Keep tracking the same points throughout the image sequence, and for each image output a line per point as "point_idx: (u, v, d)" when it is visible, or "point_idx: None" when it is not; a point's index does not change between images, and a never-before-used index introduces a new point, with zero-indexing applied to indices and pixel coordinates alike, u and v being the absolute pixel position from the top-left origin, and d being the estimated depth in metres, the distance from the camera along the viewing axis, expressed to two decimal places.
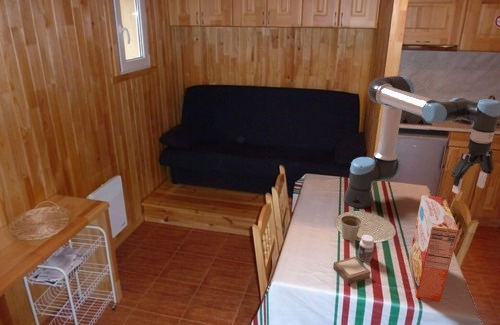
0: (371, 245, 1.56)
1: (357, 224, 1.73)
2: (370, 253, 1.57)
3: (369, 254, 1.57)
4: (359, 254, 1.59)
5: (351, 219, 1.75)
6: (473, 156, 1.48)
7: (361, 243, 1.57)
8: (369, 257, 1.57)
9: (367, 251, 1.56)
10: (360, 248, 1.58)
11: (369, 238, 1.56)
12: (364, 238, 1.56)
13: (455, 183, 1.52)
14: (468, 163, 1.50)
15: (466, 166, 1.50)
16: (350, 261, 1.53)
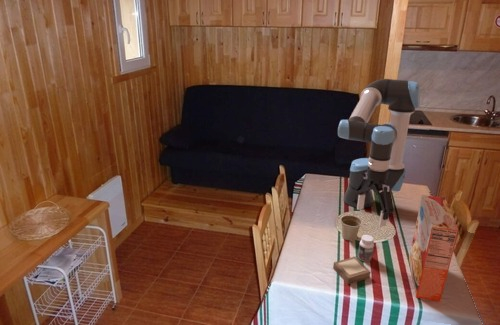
0: (371, 245, 1.56)
1: (357, 224, 1.73)
2: (370, 253, 1.57)
3: (369, 254, 1.57)
4: (359, 254, 1.59)
5: (351, 219, 1.75)
6: (368, 178, 1.49)
7: (361, 243, 1.57)
8: (369, 257, 1.57)
9: (367, 251, 1.56)
10: (360, 248, 1.58)
11: (369, 238, 1.56)
12: (364, 238, 1.56)
13: None
14: None
15: None
16: (350, 261, 1.53)
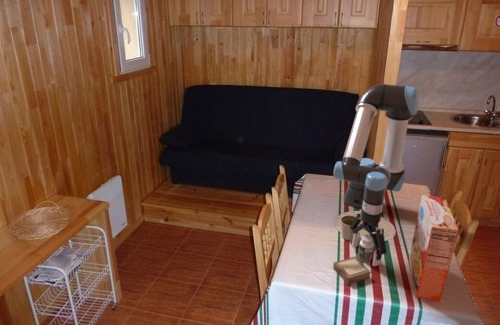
0: (371, 245, 1.56)
1: None
2: (370, 253, 1.57)
3: (369, 254, 1.57)
4: (359, 254, 1.59)
5: (351, 219, 1.75)
6: (362, 219, 1.56)
7: (361, 243, 1.57)
8: (369, 257, 1.57)
9: (367, 251, 1.56)
10: (360, 248, 1.58)
11: (369, 238, 1.56)
12: (364, 238, 1.56)
13: None
14: None
15: None
16: (350, 261, 1.53)
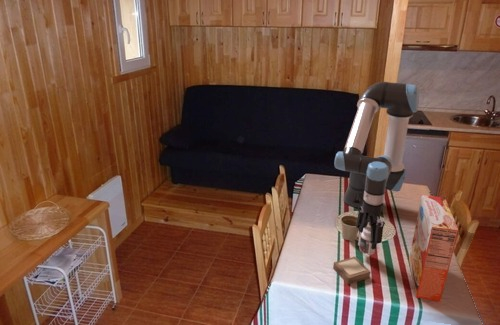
0: None
1: None
2: None
3: None
4: (360, 246, 1.58)
5: (351, 219, 1.75)
6: (364, 210, 1.55)
7: (362, 235, 1.56)
8: None
9: (368, 243, 1.55)
10: (361, 240, 1.57)
11: (370, 230, 1.55)
12: (365, 230, 1.55)
13: None
14: None
15: None
16: (350, 261, 1.53)
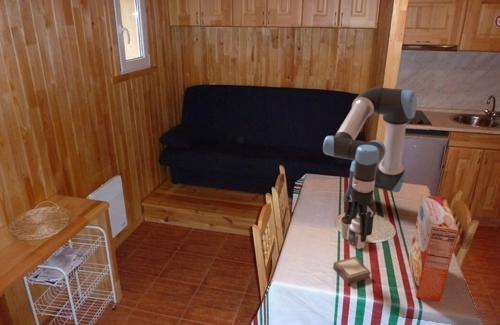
0: None
1: None
2: None
3: None
4: (349, 239, 1.44)
5: None
6: (352, 199, 1.42)
7: (351, 227, 1.43)
8: None
9: (358, 235, 1.41)
10: (350, 232, 1.43)
11: None
12: (354, 221, 1.42)
13: None
14: None
15: None
16: (350, 261, 1.53)
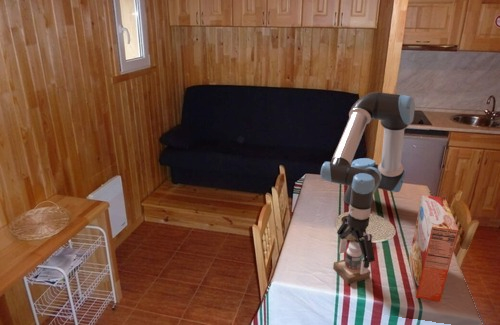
0: (359, 253, 1.46)
1: None
2: (358, 262, 1.47)
3: (356, 263, 1.47)
4: (346, 263, 1.49)
5: None
6: (349, 224, 1.46)
7: (348, 251, 1.47)
8: (357, 266, 1.47)
9: (354, 259, 1.46)
10: (347, 256, 1.48)
11: (356, 246, 1.46)
12: (351, 246, 1.46)
13: None
14: None
15: None
16: None
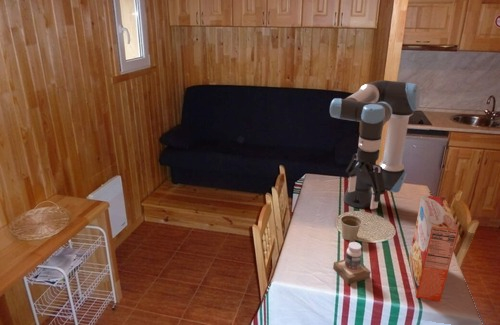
0: (359, 253, 1.46)
1: (357, 224, 1.73)
2: (358, 262, 1.47)
3: (356, 263, 1.47)
4: (346, 263, 1.49)
5: (351, 219, 1.75)
6: (359, 159, 1.43)
7: (348, 251, 1.47)
8: (357, 266, 1.47)
9: (354, 259, 1.46)
10: (347, 256, 1.48)
11: (356, 246, 1.46)
12: (351, 246, 1.46)
13: None
14: None
15: None
16: None
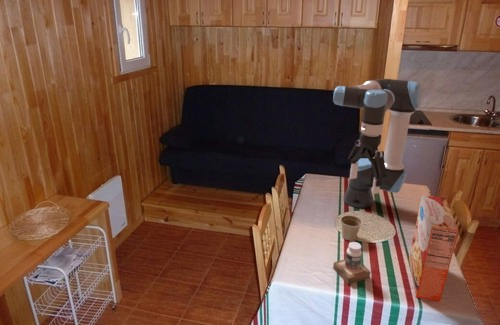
0: (359, 253, 1.46)
1: (357, 224, 1.73)
2: (358, 262, 1.47)
3: (356, 263, 1.47)
4: (346, 263, 1.49)
5: (351, 219, 1.75)
6: (361, 145, 1.45)
7: (348, 251, 1.47)
8: (357, 266, 1.47)
9: (354, 259, 1.46)
10: (347, 256, 1.48)
11: (356, 246, 1.46)
12: (351, 246, 1.46)
13: None
14: None
15: None
16: None
